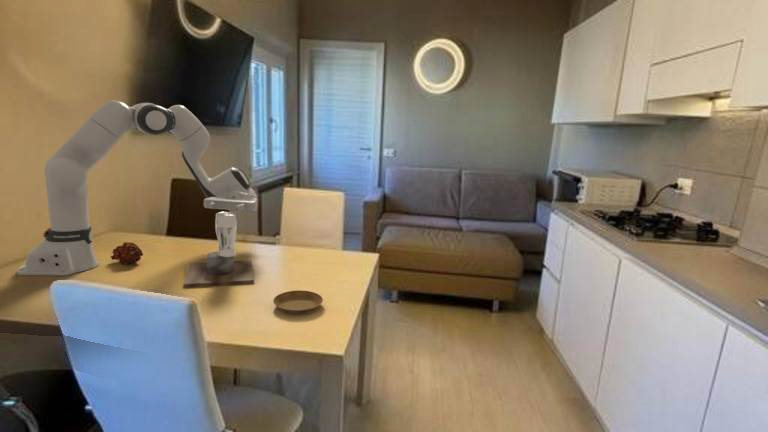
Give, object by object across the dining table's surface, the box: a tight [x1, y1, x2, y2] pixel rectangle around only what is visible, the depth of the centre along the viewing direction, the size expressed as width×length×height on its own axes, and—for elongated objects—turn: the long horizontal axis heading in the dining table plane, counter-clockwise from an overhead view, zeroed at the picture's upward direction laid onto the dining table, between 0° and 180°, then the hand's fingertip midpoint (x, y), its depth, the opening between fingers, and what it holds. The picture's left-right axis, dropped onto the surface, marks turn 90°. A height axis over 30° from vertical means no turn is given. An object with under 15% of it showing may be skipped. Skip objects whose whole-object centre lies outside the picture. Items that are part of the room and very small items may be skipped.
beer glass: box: [214, 211, 238, 258], centre depth 152 cm, size 7×7×15 cm
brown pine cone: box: [110, 241, 144, 265], centre depth 160 cm, size 8×8×12 cm
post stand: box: [183, 250, 255, 288], centre depth 154 cm, size 22×22×7 cm
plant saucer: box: [272, 290, 324, 316], centre depth 131 cm, size 15×15×3 cm
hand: (224, 207), depth 165 cm, fingers open, 8 cm apart
